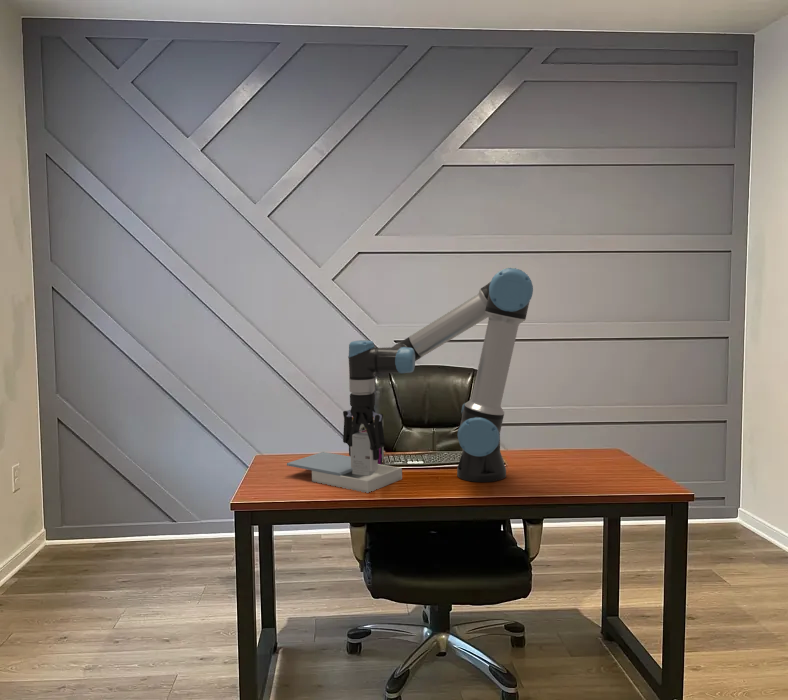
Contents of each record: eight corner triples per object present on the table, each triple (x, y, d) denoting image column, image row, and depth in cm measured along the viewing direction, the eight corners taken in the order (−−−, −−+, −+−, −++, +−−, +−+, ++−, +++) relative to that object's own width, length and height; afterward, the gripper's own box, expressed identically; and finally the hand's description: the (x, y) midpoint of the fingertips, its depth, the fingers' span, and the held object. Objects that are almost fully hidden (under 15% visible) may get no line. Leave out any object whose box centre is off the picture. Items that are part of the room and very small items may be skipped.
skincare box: (351, 474, 208) (350, 434, 206) (358, 470, 212) (356, 431, 211) (370, 476, 205) (369, 435, 204) (376, 472, 210) (375, 432, 208)
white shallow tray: (402, 479, 215) (401, 467, 215) (367, 493, 201) (367, 481, 201) (347, 469, 228) (347, 458, 228) (312, 481, 214) (311, 470, 214)
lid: (374, 463, 221) (374, 448, 220) (339, 475, 207) (338, 459, 207) (323, 454, 234) (322, 440, 234) (286, 465, 220) (286, 450, 220)
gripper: (396, 393, 203) (398, 470, 206) (345, 388, 215) (347, 461, 217) (380, 397, 197) (382, 476, 200) (329, 391, 209) (331, 466, 211)
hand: (364, 468), depth 209 cm, fingers closed on skincare box, 7 cm apart
